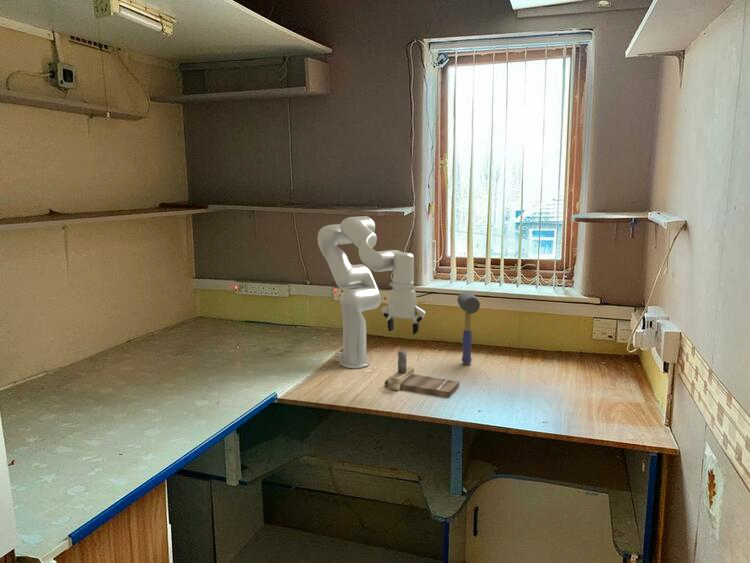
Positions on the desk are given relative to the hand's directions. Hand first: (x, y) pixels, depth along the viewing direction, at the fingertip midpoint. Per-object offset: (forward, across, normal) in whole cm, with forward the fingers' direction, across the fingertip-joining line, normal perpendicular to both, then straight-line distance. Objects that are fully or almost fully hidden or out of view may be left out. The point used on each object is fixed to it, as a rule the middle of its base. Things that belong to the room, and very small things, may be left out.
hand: (402, 331), depth 213 cm
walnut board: (+20, +8, 0) cm, 22 cm away
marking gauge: (+20, 0, 0) cm, 20 cm away
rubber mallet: (+20, +15, +32) cm, 41 cm away
